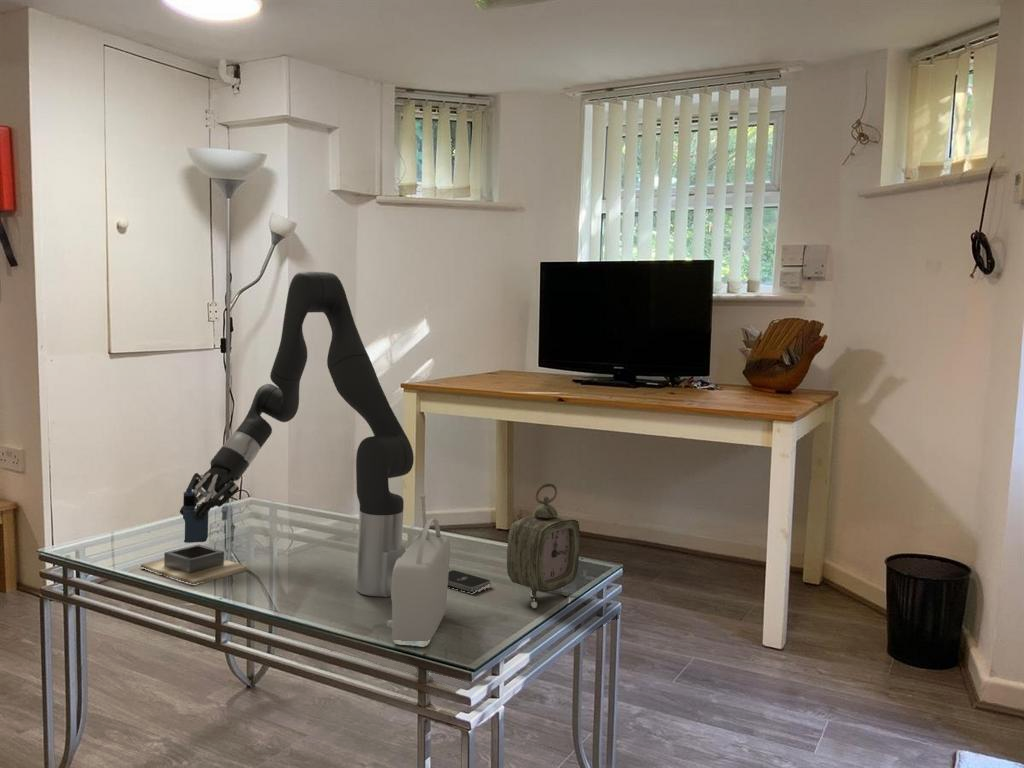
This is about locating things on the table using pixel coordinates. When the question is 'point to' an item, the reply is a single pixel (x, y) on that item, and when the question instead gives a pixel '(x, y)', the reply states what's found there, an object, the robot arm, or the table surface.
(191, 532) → the vaping device
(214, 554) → the square socket
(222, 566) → the mounting board
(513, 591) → the table surface
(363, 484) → the robot arm
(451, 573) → the external hard drive
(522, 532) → the tabletop clock
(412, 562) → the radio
